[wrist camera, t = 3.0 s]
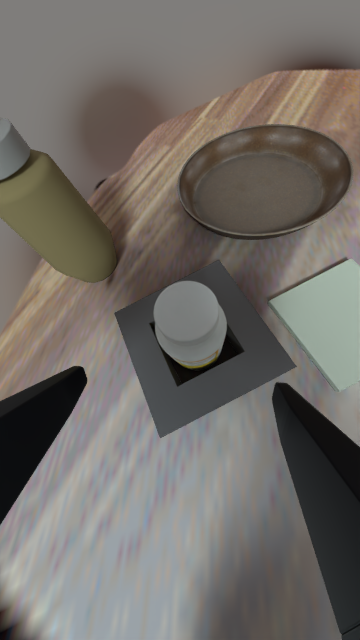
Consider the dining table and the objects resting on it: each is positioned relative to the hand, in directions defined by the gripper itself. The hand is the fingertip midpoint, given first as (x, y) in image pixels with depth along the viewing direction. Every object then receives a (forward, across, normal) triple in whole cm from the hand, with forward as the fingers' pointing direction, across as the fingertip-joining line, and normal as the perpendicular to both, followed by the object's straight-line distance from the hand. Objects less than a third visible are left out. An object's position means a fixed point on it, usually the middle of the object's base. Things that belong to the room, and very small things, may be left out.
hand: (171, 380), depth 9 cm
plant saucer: (+26, -7, -10) cm, 29 cm away
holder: (+10, 0, +5) cm, 12 cm away
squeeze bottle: (+18, +14, -2) cm, 23 cm away
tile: (+13, -14, +2) cm, 20 cm away
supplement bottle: (+11, 0, +5) cm, 12 cm away
